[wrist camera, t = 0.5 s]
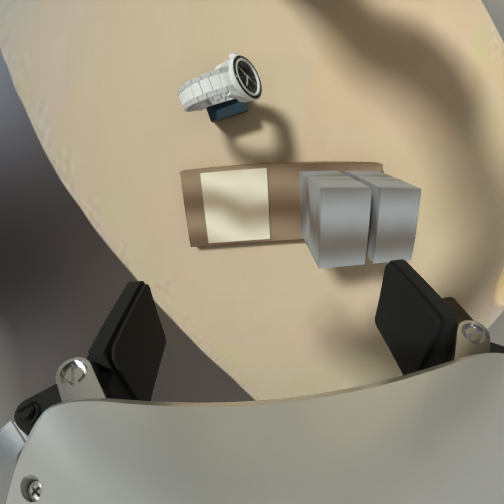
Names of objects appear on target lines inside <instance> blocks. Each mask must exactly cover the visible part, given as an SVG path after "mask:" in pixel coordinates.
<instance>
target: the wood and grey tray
mask: <svg viewBox="0 0 504 504" xmlns="http://www.w3.org/2000/svg"><path fill="white" fill-rule="evenodd" d="M382 168H383V164H380V163H374V162H282V163H262V164H246V165H232V166H221V167H210V168H201V169H192V170H183V171H181V172H180V175H181V183H182V191H183V198H184V205H185V213H186V219H187V226H188V233H189V239H190V245H191V247H197V246H210V245H223V244H237V243H251V242H265V241H280V240H294V239H304V240H305V242H306V244H307V246H308V248H309V250H310V252H311V254H312V256H313V258H314V260H315V262H316V263H317V265H318V267H319V269H320V268H332V267H343V266H354V265H364V264H365V258H366V256H367V257H368V258H369V259H370V261H371V262H372V263H373V264H375V263H385V262H390V261H391V260H400V259H404V260H411V257H412V252H413V246H414V241H415V234H416V228H417V221H418V213H419V205H420V196H421V189H420V188H418V187H415V186H413V185H411V184H408V183H406V182H404V181H401V180H399V179H397V178H394V177H392V176H389V175H387V174H384V173H382Z"/></svg>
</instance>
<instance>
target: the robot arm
mask: <svg viewBox="0 0 504 504" xmlns="http://www.w3.org/2000/svg"><path fill="white" fill-rule="evenodd" d="M457 318H458V316H457V315H456V314H455V313H454V312H453V310H452V309H451V308H450V307H449V306H448V305H447V304H446V303H445V301H444V300H443V299H442V298H441V297H440V296H439V295H438V294H437V293H436V292H435V291H434V290H433V289H432V287H431V286H430V285H429V284H428V283H427V282H426V281H425V280H424V279H423V278H422V277H421V276H420V275H419V274H418V273H417V272H416V271H415V270H414V269H413V268H412V267H411V266H410V265H409V264H408V263H407V262H406V261H405V260H404V259H400V260H391V261H390V262H389V264H387V265H386V266H385V271H384V277H383V282H382V288H381V293H380V298H379V303H378V307H377V312H376V316H375V323H376V326H377V328H378V329H379V331H380V333H381V335H382V336H383V338H384V340H385V342H386V344H387V345H388V347H389V349H390V351H391V353H392V354H393V356H394V358H395V360H396V362H397V364H398V366H399V368H400V369H401V371H402V373H403V376H399V377H396V378H392V379H388V380H384V381H380V382H376V383H372V384H367V385H363V386H358V387H353V388H348V389H343V390H338V391H332V392H326V393H320V394H314V395H307V396H299V397H291V398H282V399H272V400H260V401H246V402H223V403H181V402H178V403H177V402H153V401H150V400H151V396H152V392H153V389H154V385H155V381H156V377H157V373H158V370H159V366H160V362H161V359H162V355H163V352H164V348H165V344H166V338H165V335H164V332H163V328H162V325H161V322H160V319H159V316H158V313H157V310H156V307H155V304H154V300H153V297H152V294H151V290H150V287H149V285H148V284H145V283H144V282H143V281H133V282H129V283H128V284H127V286H126V287H125V289H124V290H123V292H122V294H121V295H120V297H119V299H118V300H117V302H116V304H115V305H114V307H113V309H112V311H111V312H110V314H109V316H108V317H107V319H106V321H105V322H104V324H103V326H102V328H101V330H100V331H99V333H98V335H97V337H96V339H95V341H94V342H93V344H92V346H91V348H90V350H89V355H88V357H87V359H85V358H81V357H77V358H72V359H69V360H68V361H66V362H64V363H63V364H62V365H61V366H60V368H59V369H58V371H57V374H56V381H57V384H55V385H53V386H51V387H49V388H48V389H46V390H44V391H42V392H40V393H38V394H36V395H34V396H32V397H30V398H29V399H27V400H25V401H23V402H22V403H21V404H20V405H19V406H18V407H17V410H16V411H15V416H14V418H15V422H14V423H13V422H12V421H9V422H8V423H7V424H6V425H5V426H4V427H3V428H2V429H1V430H0V495H1V496H2V498H3V500H4V502H5V503H6V504H504V346H501V345H498V344H495V343H492V342H490V335H489V332H488V330H487V329H486V328H485V327H484V326H483V325H482V324H480V323H478V322H476V321H472V320H465V321H463V322H461V323H460V324H459V325H458V324H457V323H456V321H457Z"/></svg>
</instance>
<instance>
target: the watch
mask: <svg viewBox="0 0 504 504" xmlns="http://www.w3.org/2000/svg"><path fill="white" fill-rule="evenodd" d="M229 57H230V59H228V60H227V61H225V62H223V63H222V64H220V65H218V66H216V67H215V68H216V70H213V71H210V72H207V73H205V74H202V75H200V76H198V77H196V78H194V79H192V80H190V81H188V82H187V83H185V84H184V85H183V86H182V87H181V88H180V89H179V90H178V95H179V98H180V101H181V104H182V106H183V109H184V110H185V112H191V111H197V110H199V111H201V110H203V109H206V108H207V111H208V114H209V117H210V120H211V122H217V121H220V120H222V119H225V118H228V117H231V116H234V115H238V114H241V113H244V112H247V111H248V108H247V105H246V102H250V101H252V100H253V101H254V100H258V99H259V98H260V96H261V93H262V87H261V82H260V78H259V76H258V73H257V71H256V69H255V68H254V66H253V65H252V64H251V62H250V61H249V60H248V59H247V58H245V57H244V56H242V55H237V53H232V54H230V55H229ZM210 73H211V74H210Z"/></svg>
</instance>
